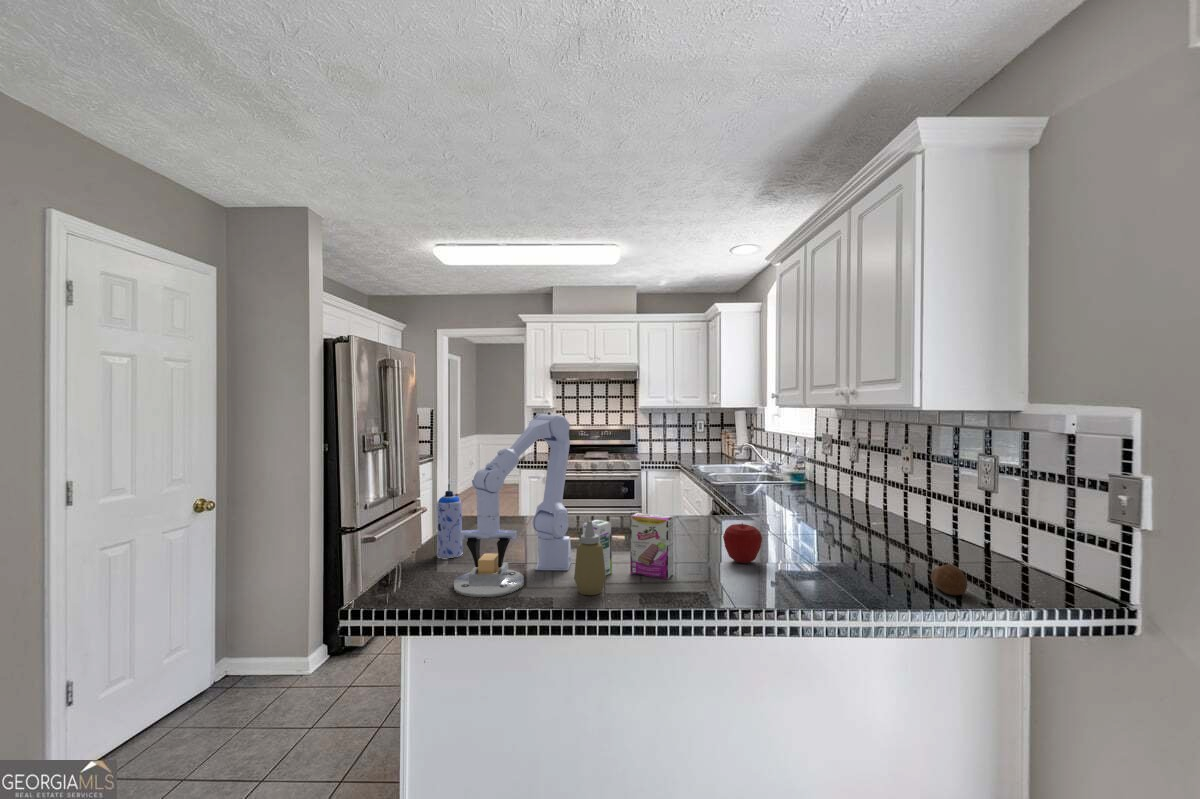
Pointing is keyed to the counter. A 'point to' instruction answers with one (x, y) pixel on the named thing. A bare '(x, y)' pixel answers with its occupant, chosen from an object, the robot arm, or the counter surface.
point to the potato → (949, 579)
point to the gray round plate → (489, 582)
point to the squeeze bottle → (590, 563)
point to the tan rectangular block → (488, 563)
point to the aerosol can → (449, 526)
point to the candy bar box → (651, 545)
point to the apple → (742, 542)
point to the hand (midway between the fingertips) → (489, 566)
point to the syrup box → (603, 541)
